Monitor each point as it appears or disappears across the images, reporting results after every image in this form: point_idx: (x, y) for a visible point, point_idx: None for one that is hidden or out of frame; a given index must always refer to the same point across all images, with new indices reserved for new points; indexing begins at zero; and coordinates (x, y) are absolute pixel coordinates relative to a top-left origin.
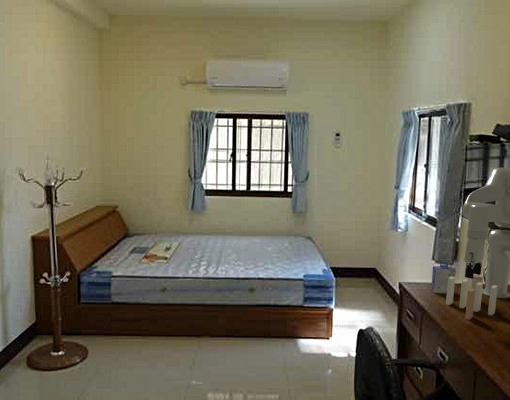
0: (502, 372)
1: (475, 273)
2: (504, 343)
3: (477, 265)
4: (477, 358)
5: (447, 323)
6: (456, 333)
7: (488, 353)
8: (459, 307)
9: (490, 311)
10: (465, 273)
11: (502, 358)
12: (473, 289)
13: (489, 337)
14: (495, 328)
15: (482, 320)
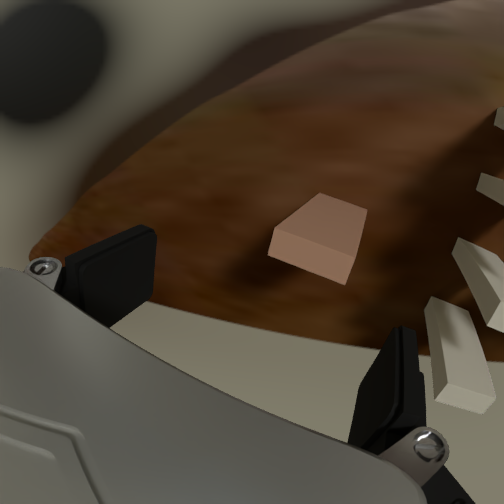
0: None
1: (379, 353)
2: (151, 300)
3: (361, 442)
4: (56, 228)
5: (214, 126)
6: (141, 170)
7: None
8: (481, 173)
9: (428, 312)
10: (116, 238)
11: None
12: (333, 270)
13: (166, 268)
14: (261, 301)
15: None
